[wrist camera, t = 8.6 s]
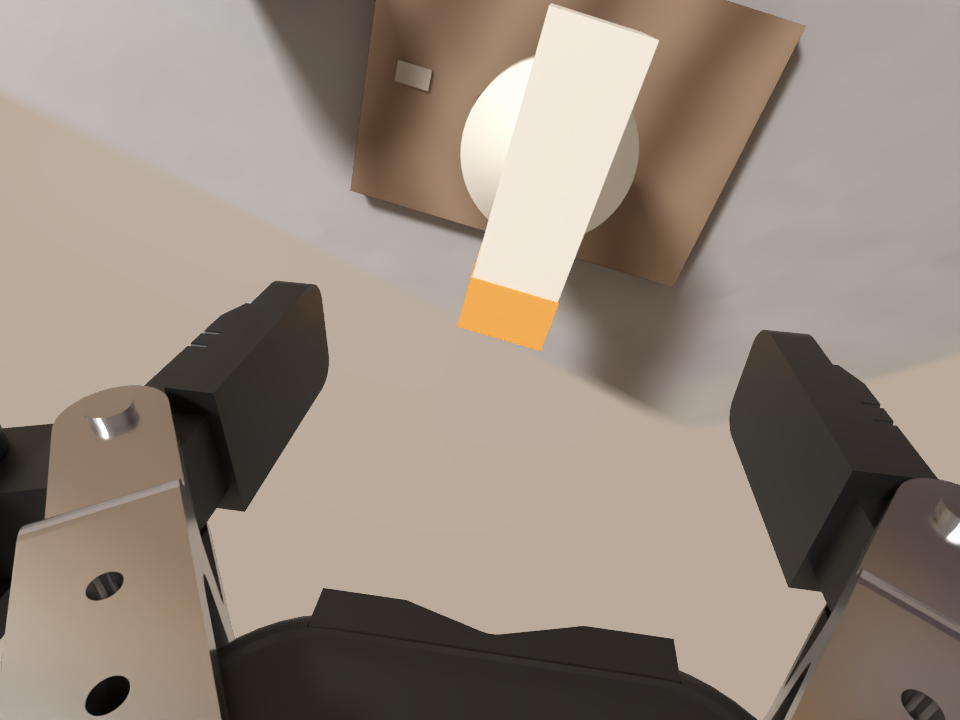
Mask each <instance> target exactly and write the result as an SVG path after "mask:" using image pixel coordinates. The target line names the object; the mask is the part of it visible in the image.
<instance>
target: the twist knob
mask: <svg viewBox="0 0 960 720" xmlns="http://www.w3.org/2000/svg"><path fill="white" fill-rule="evenodd" d="M658 42H659V40H658V39H655V38H653V37H651V36H649V35H647V34H645V33H643V32H640V31H637V30H634V29H631V28H628V27H625V26H622V25H618V24H615V23H612V22H609V21H606V20H603V19H600V18H597V17H593V16H590V15H587V14H584V13H581V12H578V11H575V10H571V9H568V8H565V7H562V6H559V5H556V4H553V3H551V4H550V5H549V7H548V11H547V14H546V18H545V21H544V25H543V29H542V32H541V36H540V39H539V43H538V46H537V50H536V53H535V55H533V56H530V57H527V58H525V59H522V60H520V61H518V62H516V63H514V64H512V65H510V66H509V67H508V68H506V69H505V70H504V71H502V72H501V73H500V74H499V75H498V76H497V77H496V78H495V79H494V80H493V81H492V82H491V83H490V84H489V86H488V87H487V88H486V89H485V90H484V92H483V93H482V94H481V95H480V97H479V98H478V99H477V101H476V103H475V104H474V106H473V108H472V109H471V111H470V114H469V116H468V118H467V120H466V124H465V127H464V130H463V135H462V141H461V153H460V157H461V168H462V173H463V178H464V181H465V184H466V187H467V190H468V192H469V194H470V196H471V198H472V200H473V201H474V203H475V204H476V206H477V207H478V209H479V210H480V211H481V212H482V214H483V215H484V216H485V217H486V218H487V219H488V224H487V227H486V231H485V235H484V238H483V242H482V245H481V248H480V251H479V254H478V257H477V260H476V263H475V266H474V269H473V272H472V275H471V279H470V282H469V286H468V289H467V293H466V297H465V300H464V304H463V307H462V311H461V314H460V318H459V322H458V325H457V327H460V328H463V329H467V330H470V331H474V332H477V333H480V334H484V335H487V336H491V337H494V338H497V339H501V340H504V341H508V342H511V343H514V344H518V345H521V346H525V347H528V348H532V349H535V350H538V351H541V349H542V346H543V344H544V341H545V339H546V336H547V333H548V331H549V328H550V326H551V323H552V321H553V318H554V315H555V313H556V310H557V308H558V305H559V298H560V295H561V293H562V290H563V288H564V285H565V282H566V280H567V277H568V275H569V272H570V270H571V267H572V264H573V262H574V259H575V257H576V254H577V251H578V249H579V246H580V244H581V241H582V239H583V236H584V234H585V233H587V232H589V231H591V230H593V229H594V228H596V227H597V226H599V225H600V224H601V223H603V222H604V221H605V220H606V219H607V218H608V217H609V216H611V215H612V214H613V212H614V211H615V210H616V209H617V208H618V206H619V205H620V204H621V202H622V201H623V199H624V198H625V196H626V195H627V193H628V191H629V189H630V187H631V184H632V182H633V179H634V176H635V173H636V168H637V164H638V156H639V137H638V131H637V126H636V122H635V119H634V116H633V113H632V110H633V107H634V104H635V102H636V99H637V97H638V94H639V91H640V89H641V86H642V84H643V81H644V79H645V76H646V73H647V71H648V68H649V66H650V63H651V61H652V58H653V55H654V53H655V50H656V48H657V45H658Z"/></svg>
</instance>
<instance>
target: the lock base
mask: <svg viewBox="0 0 960 720" xmlns="http://www.w3.org/2000/svg"><path fill="white" fill-rule="evenodd" d="M551 3H553V4H556V5H559V6H562V7H565V8H568V9H571V10H575V11H578V12H581V13H584V14H587V15H590V16H593V17H597V18H600V19H603V20H606V21H609V22H612V23H615V24H618V25H622V26H625V27H628V28H631V29H634V30H637V31H640V32H643V33H645V34H647V35H649V36H651V37H653V38H655V39H658V40H659V42H658V45H657V48H656V50H655V53H654V55H653V58H652V61H651V63H650V66H649V68H648V71H647V73H646V76H645V79H644V81H643V84H642V86H641V89H640V91H639V94H638V97H637V99H636V102H635V104H634V107H633V110H632V113H633V116H634V119H635V122H636V126H637V131H638V137H639V156H638V164H637V168H636V173H635V176H634V179H633V182H632V184H631V187H630V189H629V191H628V193H627V195H626V196H625V198H624V199H623V201H622V202H621V204H620V205H619V206H618V208H617V209H616V210H615V211H614V212H613V214H612V215H611V216H609V217H608V218H607V219H606V220H605V221H604V222H603V223H601V224H600V225H599V226H597V227H596V228H594V229H593V230H591V231H589V232H587V233H585V234H584V236H583V239H582V241H581V244H580V246H579V249H578V251H577V254H576V257H575V258H577V259H581V260H584V261H587V262H591V263H594V264H597V265H601V266H604V267H607V268H611V269H614V270H617V271H621V272H624V273H627V274H631V275H634V276H637V277H641V278H644V279H647V280H651V281H654V282H657V283H661V284H664V285H667V286H671V287H673V286H674V284H675V282H676V280H677V278H678V276H679V274H680V272H681V270H682V268H683V266H684V264H685V262H686V260H687V258H688V256H689V254H690V252H691V250H692V248H693V247H694V245H695V243H696V241H697V239H698V237H699V235H700V233H701V231H702V229H703V227H704V225H705V223H706V221H707V219H708V217H709V215H710V213H711V211H712V209H713V207H714V205H715V203H716V201H717V199H718V197H719V196H720V194H721V192H722V190H723V188H724V186H725V184H726V182H727V180H728V178H729V176H730V174H731V172H732V170H733V168H734V166H735V164H736V162H737V160H738V158H739V156H740V154H741V152H742V150H743V148H744V146H745V144H746V143H747V141H748V139H749V137H750V135H751V133H752V131H753V129H754V127H755V125H756V123H757V121H758V119H759V117H760V115H761V113H762V111H763V109H764V107H765V105H766V103H767V101H768V99H769V97H770V95H771V93H772V92H773V90H774V88H775V86H776V84H777V82H778V80H779V78H780V76H781V74H782V72H783V70H784V68H785V66H786V64H787V62H788V60H789V58H790V56H791V54H792V52H793V50H794V48H795V46H796V44H797V42H798V40H799V39H800V37H801V35H802V33H803V31H804V29H805V27H806V26H804V25H801V24H798V23H795V22H792V21H789V20H786V19H783V18H779V17H776V16H773V15H770V14H767V13H764V12H761V11H758V10H755V9H751V8H748V7H745V6H742V5H739V4H736V3H733V2H730V1H727V0H376V1H375V8H374V16H373V23H372V31H371V39H370V46H369V54H368V61H367V69H366V77H365V84H364V92H363V99H362V107H361V114H360V122H359V130H358V137H357V145H356V152H355V160H354V167H353V175H352V183H351V190H350V191H354V192H357V193H360V194H364V195H367V196H370V197H374V198H377V199H380V200H384V201H387V202H390V203H394V204H397V205H400V206H404V207H407V208H410V209H414V210H417V211H420V212H424V213H427V214H430V215H434V216H437V217H440V218H444V219H447V220H450V221H454V222H457V223H460V224H464V225H467V226H470V227H474V228H477V229H481V230H484V231H486V227H487V224H488V219H487V218H486V217H485V216H484V215H483V214H482V212H481V211H480V210H479V209H478V207H477V206H476V204H475V203H474V201H473V200H472V198H471V196H470V194H469V192H468V190H467V187H466V184H465V181H464V178H463V173H462V168H461V157H460V153H461V141H462V135H463V130H464V127H465V124H466V120H467V118H468V116H469V114H470V111H471V109H472V108H473V106H474V104H475V103H476V101H477V99H478V98H479V97H480V95H481V94H482V93H483V92H484V90H485V89H486V88H487V87H488V86H489V84H490V83H491V82H492V81H493V80H494V79H495V78H496V77H497V76H498V75H499V74H500V73H501V72H502V71H504V70H505V69H506V68H508V67H509V66H510V65H512V64H514V63H516V62H518V61H520V60H522V59H525V58H527V57H530V56H533V55H535V53H536V50H537V46H538V43H539V39H540V36H541V32H542V29H543V25H544V21H545V18H546V14H547V11H548V7H549V5H550V4H551Z"/></svg>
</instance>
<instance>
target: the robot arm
mask: <svg viewBox="0 0 960 720" xmlns="http://www.w3.org/2000/svg"><path fill="white" fill-rule="evenodd" d="M328 366H329V355H328V347H327V338H326V330H325V321H324V313H323V304H322V297H321V293H320V290H319V288H318V287H317V286H316V285H313V284H304V283H294V282H283V281H275V282H273V283H271V284H270V286H268V287H267V288H266V289H265V290H264V291H263V292H262V293H261V294H260V295H259V296H258V297H257V298H256V299H255V300H254V301H253V302H252V303H251V304H247V303H246V304H244V305H242V306H240V307H238V308H235V309H233V310H231V311H229V312H227V313H225V314H223V315H221V316H220V317H219V318H218V319H217V320H216V321H214V323H212V324H211V325H210V326H209V327H208V328H207V329H206V330H205V333H204V334H203V333H201V334H200V335H199V336H198V337H197V338H196V339H195V340H194V341H193V342H192V343H191V346H187V347H186V348H185V349H184V350H183V351H182V352H181V353H179V354H178V355H177V356H176V357H175V358H174V359H173V360H172V361H171V362H170V363H169V364H167V365H166V366H165V367H164V368H163V369H162V370H161V371H160V372H159V373H158V374H157V375H156V376H154V377H153V378H152V379H151V380H150V381H149V382H148V383H147V384H146V385H145V386H140V385H130V386H121V387H115V388H110V389H106V390H102V391H99V392H97V393H94V394H91V395H89V396H87V397H84V398H82V399H80V400H79V401H77V402H75V403H74V404H72V405H70V406H69V407H68V408H66V409H65V410H64V411H63V412H62V413H61V414H60V415H59V416H58V417H57V418H56V420H55V422H54V424H47V425H35V426H25V427H13V428H3V429H2V427H1V425H0V639H1V638H2V637H3V635H4V634H5V637H4V645H3V653H2V661H1V670H0V720H757V719H756V718H755V717H753V716H752V715H751V714H750V713H748V712H747V711H746V710H745V709H743V708H742V707H741V706H740V705H738V704H737V703H736V702H734V701H733V700H732V699H730V698H728V697H727V696H725V695H724V694H723V693H721V692H719V691H718V690H716V689H715V688H713V687H712V686H710V685H708V684H706V683H704V682H702V681H700V680H699V679H696V678H695V677H693V676H691V675H689V674H686V673H684V672H681V671H679V669H678V663H677V657H676V651H675V645H674V639H670V638H663V637H656V636H648V635H642V634H635V633H628V632H622V631H615V630H607V629H601V628H594V627H587V626H579V627H570V628H561V629H550V630H540V631H531V632H521V633H511V634H501V635H494V634H487V633H484V632H481V631H479V630H477V629H474V628H472V627H469V626H467V625H464V624H462V623H460V622H457V621H455V620H452V619H450V618H448V617H445V616H443V615H440V614H438V613H436V612H433V611H431V610H428V609H426V608H424V607H421V606H419V605H416V604H414V603H412V602H409V601H407V600H401V599H394V598H388V597H381V596H374V595H367V594H360V593H353V592H346V591H339V590H333V589H325V588H323V590H322V593H321V595H320V597H319V600H318V602H317V605H316V607H315V610H314V612H313V614H312V616H303V617H298V618H294V619H289V620H284V621H280V622H277V623H274V624H271V625H268V626H265V627H262V628H259V629H256V630H254V631H252V632H250V633H247V634H245V635H243V636H241V637H238V638H236V639H235V637H234V633H233V630H232V625H231V621H230V617H229V613H228V608H227V603H226V599H225V594H224V590H223V585H222V581H221V576H220V572H219V567H218V563H217V558H216V554H215V549H214V545H213V540H212V535H211V531H210V529H209V526H208V522H207V521H208V519H209V518H210V517H211V515H212V514H213V512H214V511H215V509H216V508H222V509H229V510H237V511H244V512H245V510H246V509H247V507H248V506H249V504H250V502H251V501H252V499H253V498H254V496H255V495H256V493H257V491H258V490H259V488H260V486H261V485H262V483H263V482H264V480H265V479H266V477H267V475H268V474H269V472H270V471H271V469H272V467H273V466H274V464H275V462H276V461H277V459H278V458H279V456H280V455H281V453H282V452H283V450H284V448H285V447H286V445H287V444H288V442H289V440H290V439H291V437H292V436H293V434H294V432H295V430H296V429H297V428H298V426H299V424H300V423H301V421H302V420H303V418H304V416H305V415H306V413H307V412H308V410H309V408H310V407H311V405H312V403H313V402H314V400H315V399H316V397H317V396H318V394H319V393H320V391H321V389H322V388H323V386H324V383H325V381H326V378H327V373H328ZM730 431H731V435H732V438H733V441H734V444H735V446H736V449H737V452H738V454H739V457H740V460H741V462H742V465H743V468H744V470H745V473H746V475H747V478H748V481H749V483H750V486H751V489H752V491H753V494H754V497H755V499H756V502H757V505H758V507H759V510H760V513H761V515H762V518H763V521H764V523H765V526H766V529H767V531H768V534H769V536H770V539H771V542H772V544H773V547H774V550H775V552H776V555H777V557H778V560H779V563H780V565H781V568H782V571H783V573H784V576H785V579H786V582H787V584H788V587H790V588H798V589H805V590H812V591H820V592H822V593H823V595H824V598H825V600H826V602H827V603H826V605H825V607H824V608H823V610H822V611H821V613H820V615H819V616H818V618H817V620H816V622H815V624H814V626H813V628H812V629H811V631H810V633H809V635H808V637H807V639H806V641H805V643H804V645H803V647H802V649H801V651H800V653H799V654H798V656H797V658H796V660H795V662H794V664H793V666H792V668H791V670H790V672H789V673H788V675H787V677H786V679H785V681H784V683H783V685H782V687H781V689H780V691H779V693H778V695H777V697H776V698H775V700H774V702H773V704H772V706H771V708H770V710H769V711H768V713H767V715H766V717H765V718H764V720H960V485H958V484H955V483H952V482H948V481H944V480H940V479H938V478H937V477H936V476H935V474H934V473H933V472H932V471H931V469H930V468H929V467H928V465H927V464H926V463H925V462H924V460H923V459H922V458H921V456H920V455H919V454H918V453H917V451H916V450H915V449H914V447H913V446H912V445H911V444H910V442H909V441H908V440H907V438H906V437H905V436H904V434H903V433H902V432H901V430H900V429H899V428H898V427H897V426H893V420H892V419H891V417H890V416H889V415H888V414H887V413H886V411H885V410H884V409H883V408H880V404H879V402H878V401H877V399H876V398H875V397H874V396H873V394H872V393H871V392H870V390H869V389H868V388H867V386H866V385H865V384H864V383H863V382H861V381H860V380H858V379H857V378H856V377H854V376H853V375H851V374H850V373H849V372H847V371H846V370H844V369H843V368H842V367H840V366H839V365H833V364H832V363H831V362H830V360H829V359H828V357H827V356H826V355H825V353H824V352H823V351H822V349H821V348H820V346H819V345H818V344H817V342H816V341H815V340H814V338H813V337H812V336H811V335H808V334H800V333H790V332H779V331H769V330H763V331H761V332H760V333H759V334H758V335H757V336H756V338H755V340H754V342H753V345H752V348H751V350H750V353H749V356H748V359H747V361H746V364H745V367H744V370H743V373H742V375H741V378H740V381H739V384H738V387H737V389H736V392H735V395H734V398H733V401H732V404H731V409H730Z"/></svg>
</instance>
